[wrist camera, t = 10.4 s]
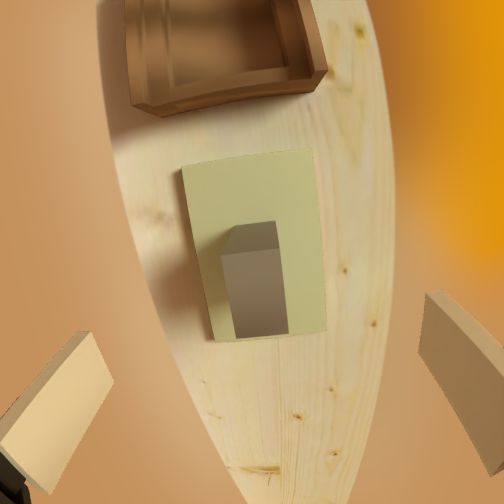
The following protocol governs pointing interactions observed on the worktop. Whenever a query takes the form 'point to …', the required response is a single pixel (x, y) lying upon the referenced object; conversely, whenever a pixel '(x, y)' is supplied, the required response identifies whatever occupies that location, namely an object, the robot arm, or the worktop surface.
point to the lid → (259, 244)
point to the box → (219, 52)
